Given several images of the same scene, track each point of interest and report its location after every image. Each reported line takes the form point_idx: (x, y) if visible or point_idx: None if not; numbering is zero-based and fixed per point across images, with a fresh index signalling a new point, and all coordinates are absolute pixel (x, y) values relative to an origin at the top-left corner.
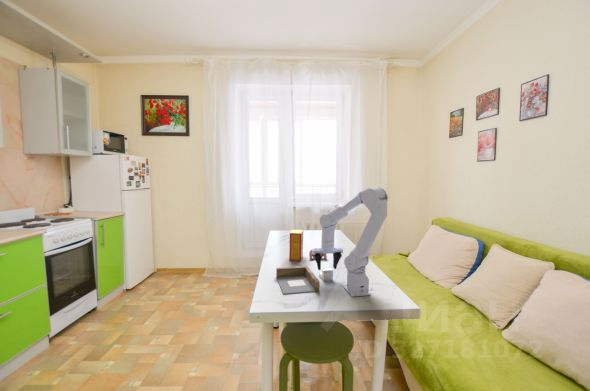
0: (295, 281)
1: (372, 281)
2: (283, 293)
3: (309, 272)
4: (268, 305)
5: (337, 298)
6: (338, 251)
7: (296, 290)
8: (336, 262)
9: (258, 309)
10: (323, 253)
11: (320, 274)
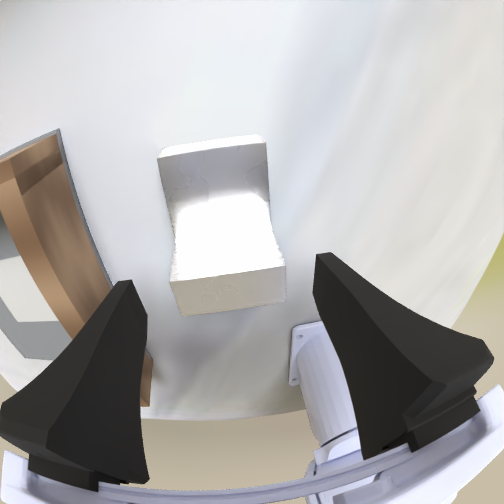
0: (14, 274)
1: (457, 261)
2: (25, 357)
3: (60, 317)
4: (26, 385)
5: (225, 390)
6: (443, 447)
7: (54, 350)
8: (346, 362)
9: (19, 390)
10: (174, 496)
11: (166, 193)
